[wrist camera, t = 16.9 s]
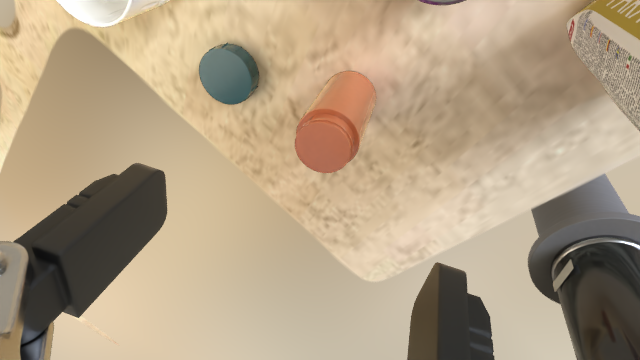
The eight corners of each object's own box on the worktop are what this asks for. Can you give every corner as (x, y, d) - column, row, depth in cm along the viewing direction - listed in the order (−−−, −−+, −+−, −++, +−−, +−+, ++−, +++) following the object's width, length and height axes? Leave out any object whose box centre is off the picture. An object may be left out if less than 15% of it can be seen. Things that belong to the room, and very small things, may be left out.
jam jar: (387, 98, 37) (370, 152, 29) (350, 131, 40) (324, 188, 32) (348, 59, 36) (319, 103, 28) (313, 95, 39) (277, 145, 31)
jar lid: (208, 36, 39) (199, 41, 37) (261, 52, 38) (254, 57, 37) (207, 89, 42) (198, 95, 41) (256, 104, 42) (249, 111, 40)
